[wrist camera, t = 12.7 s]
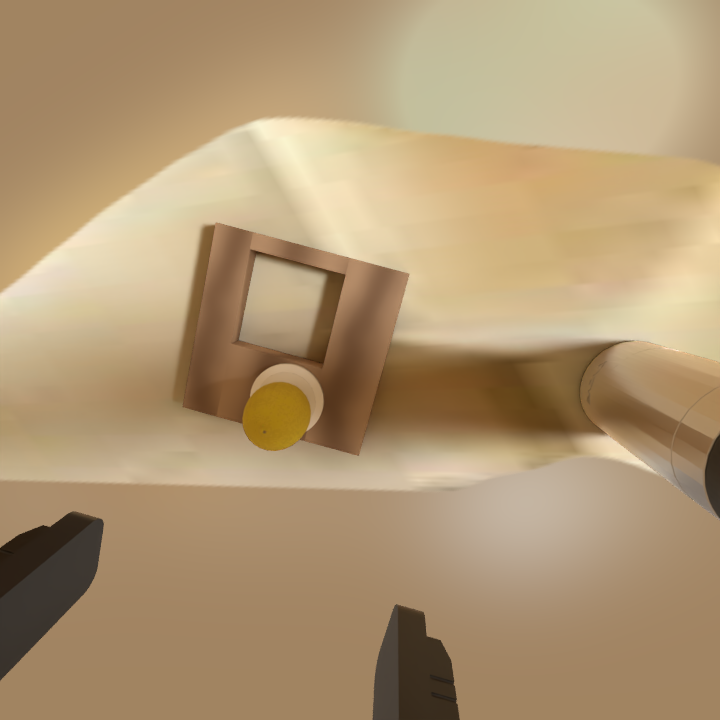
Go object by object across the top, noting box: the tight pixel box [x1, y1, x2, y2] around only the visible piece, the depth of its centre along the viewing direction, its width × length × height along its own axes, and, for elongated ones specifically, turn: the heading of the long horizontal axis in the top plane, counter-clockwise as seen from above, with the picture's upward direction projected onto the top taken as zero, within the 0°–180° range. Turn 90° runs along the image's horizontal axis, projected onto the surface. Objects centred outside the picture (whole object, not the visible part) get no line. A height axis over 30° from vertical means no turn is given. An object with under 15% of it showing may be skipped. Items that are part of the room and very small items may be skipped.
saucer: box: [250, 363, 324, 431], centre depth 42 cm, size 7×7×1 cm
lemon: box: [242, 382, 311, 451], centre depth 37 cm, size 6×6×8 cm
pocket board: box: [183, 223, 409, 456], centre depth 42 cm, size 18×18×2 cm
